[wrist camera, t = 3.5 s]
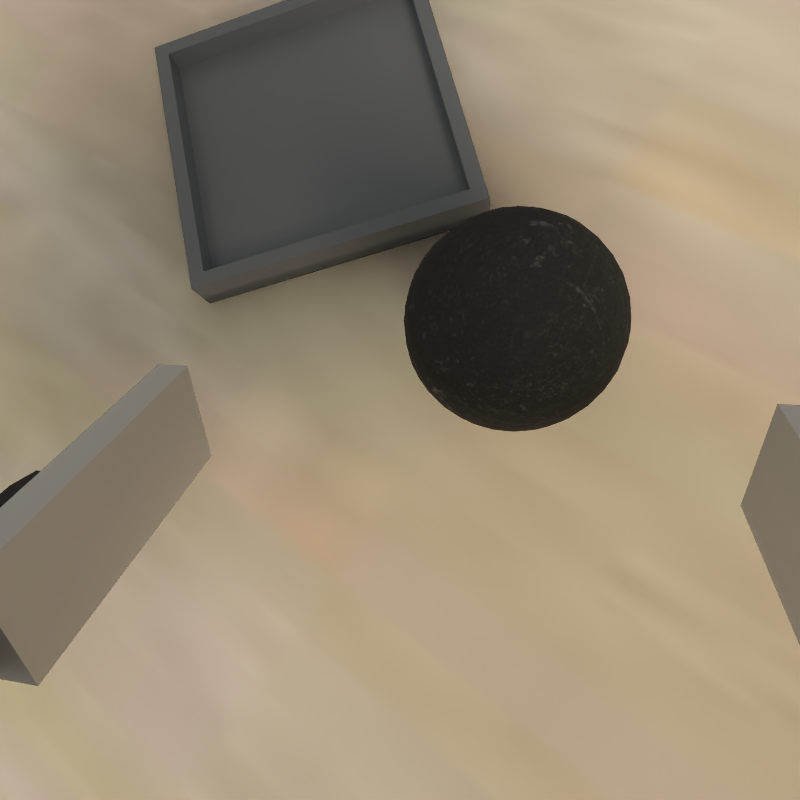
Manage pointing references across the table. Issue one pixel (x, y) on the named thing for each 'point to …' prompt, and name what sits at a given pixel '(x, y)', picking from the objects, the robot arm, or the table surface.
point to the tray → (313, 139)
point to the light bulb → (517, 318)
